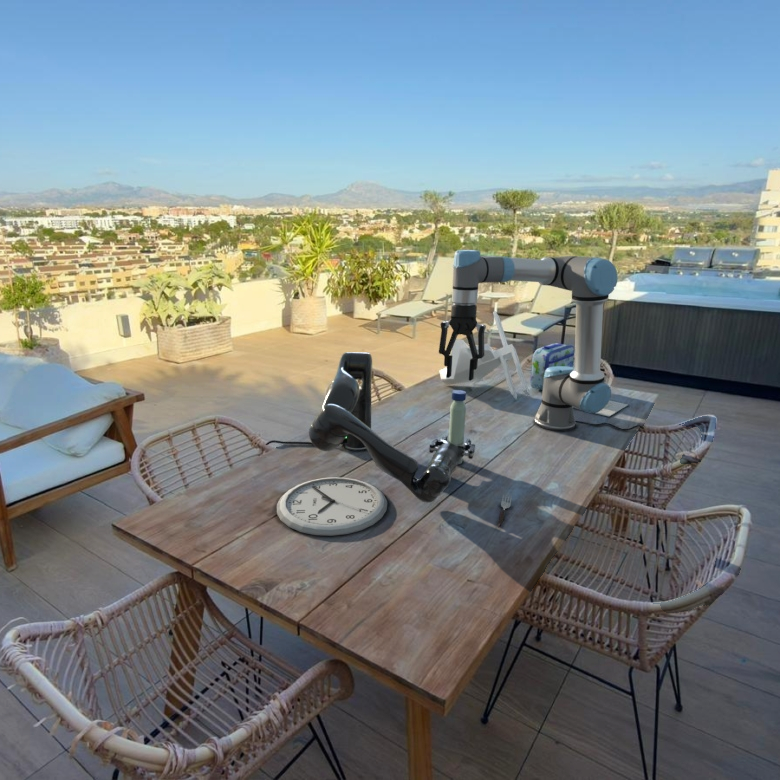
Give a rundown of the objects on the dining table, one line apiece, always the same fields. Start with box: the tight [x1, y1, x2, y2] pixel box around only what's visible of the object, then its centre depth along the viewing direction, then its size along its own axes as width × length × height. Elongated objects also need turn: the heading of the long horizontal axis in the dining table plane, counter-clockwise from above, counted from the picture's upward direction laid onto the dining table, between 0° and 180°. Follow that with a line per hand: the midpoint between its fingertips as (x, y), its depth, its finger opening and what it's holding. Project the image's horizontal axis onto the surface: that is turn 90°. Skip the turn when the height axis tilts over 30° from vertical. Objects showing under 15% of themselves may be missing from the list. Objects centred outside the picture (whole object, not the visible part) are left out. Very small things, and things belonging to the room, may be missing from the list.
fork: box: [497, 493, 513, 528], centre depth 139 cm, size 3×16×2 cm, turn 160°
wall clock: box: [276, 476, 388, 537], centre depth 142 cm, size 30×2×30 cm
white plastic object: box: [438, 310, 531, 400], centre depth 245 cm, size 37×45×31 cm
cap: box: [451, 389, 467, 402], centre depth 164 cm, size 4×4×2 cm
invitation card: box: [573, 400, 629, 418], centre depth 226 cm, size 21×1×15 cm
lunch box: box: [530, 342, 575, 391], centre depth 250 cm, size 26×11×21 cm, turn 134°
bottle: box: [448, 400, 467, 465], centre depth 168 cm, size 5×5×23 cm
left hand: (457, 439), depth 171 cm, fingers open, 7 cm apart
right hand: (459, 377), depth 163 cm, fingers open, 6 cm apart
